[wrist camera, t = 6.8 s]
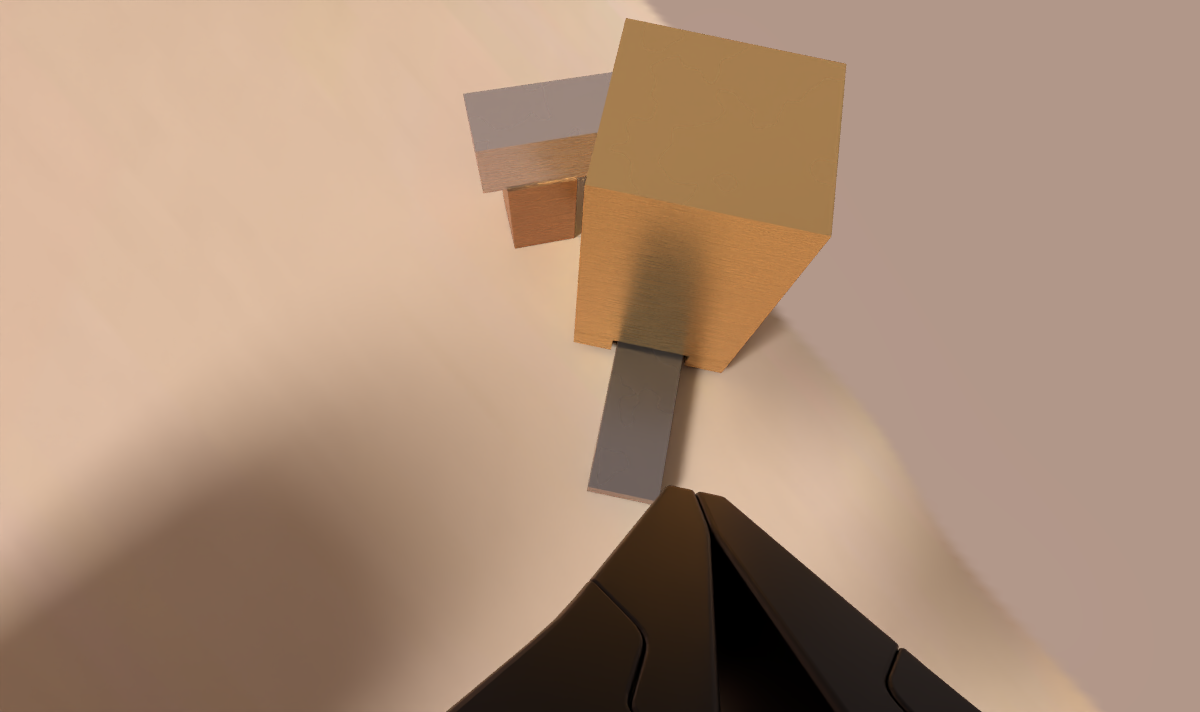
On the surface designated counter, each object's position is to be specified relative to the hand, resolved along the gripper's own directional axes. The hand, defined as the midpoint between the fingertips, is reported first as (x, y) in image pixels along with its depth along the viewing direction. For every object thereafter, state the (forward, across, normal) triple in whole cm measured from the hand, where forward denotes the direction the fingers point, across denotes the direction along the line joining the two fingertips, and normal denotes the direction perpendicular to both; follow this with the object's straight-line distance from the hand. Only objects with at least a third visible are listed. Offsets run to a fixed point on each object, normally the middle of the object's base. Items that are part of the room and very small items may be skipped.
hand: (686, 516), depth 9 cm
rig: (+15, -3, -3) cm, 16 cm away
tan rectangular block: (+16, 0, -3) cm, 16 cm away
